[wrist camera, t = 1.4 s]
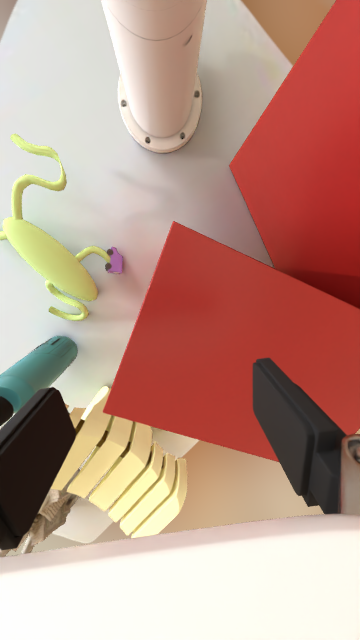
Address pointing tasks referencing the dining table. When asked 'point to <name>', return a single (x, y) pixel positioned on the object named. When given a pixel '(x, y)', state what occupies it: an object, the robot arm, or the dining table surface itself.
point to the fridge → (232, 346)
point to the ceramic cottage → (48, 517)
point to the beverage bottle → (34, 374)
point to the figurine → (53, 245)
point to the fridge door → (311, 162)
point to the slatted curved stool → (123, 470)
